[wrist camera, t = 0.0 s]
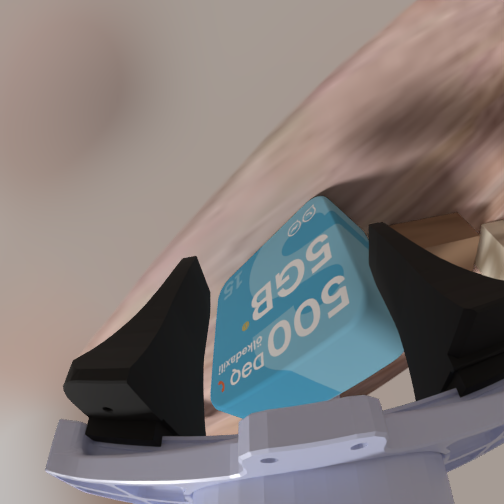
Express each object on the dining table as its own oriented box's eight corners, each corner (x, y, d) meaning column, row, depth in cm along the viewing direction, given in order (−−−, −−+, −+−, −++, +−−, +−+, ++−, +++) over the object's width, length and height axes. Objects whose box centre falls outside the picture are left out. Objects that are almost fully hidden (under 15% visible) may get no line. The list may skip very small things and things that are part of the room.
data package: (320, 187, 22) (376, 306, 12) (359, 223, 24) (421, 343, 14) (218, 288, 27) (207, 416, 17) (258, 311, 29) (263, 434, 19)
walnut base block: (444, 280, 28) (462, 307, 25) (383, 296, 29) (396, 326, 25) (455, 210, 23) (480, 235, 20) (385, 224, 24) (404, 252, 21)
